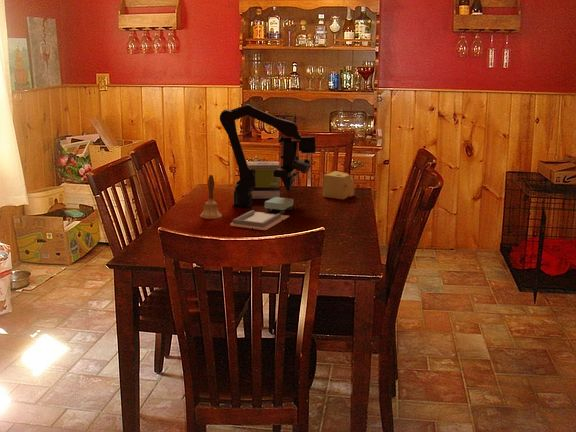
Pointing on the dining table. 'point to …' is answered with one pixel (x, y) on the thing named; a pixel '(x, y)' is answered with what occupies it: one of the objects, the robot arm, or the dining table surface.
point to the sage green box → (278, 204)
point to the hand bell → (210, 203)
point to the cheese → (338, 185)
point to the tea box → (265, 180)
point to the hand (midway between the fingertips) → (288, 191)
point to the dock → (258, 220)
